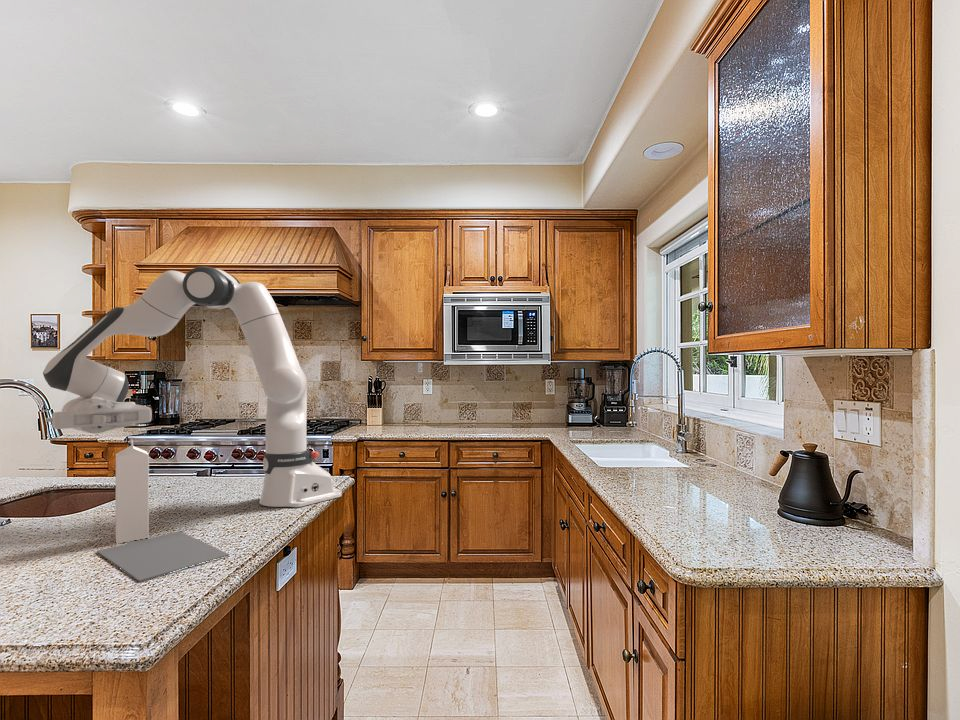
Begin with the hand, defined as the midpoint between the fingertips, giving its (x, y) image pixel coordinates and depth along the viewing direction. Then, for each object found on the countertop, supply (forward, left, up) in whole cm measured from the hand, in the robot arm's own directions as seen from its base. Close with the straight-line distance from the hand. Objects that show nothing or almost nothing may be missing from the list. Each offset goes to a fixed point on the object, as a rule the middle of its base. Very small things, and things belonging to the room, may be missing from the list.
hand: (113, 419), depth 124 cm
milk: (-2, +12, -26) cm, 29 cm away
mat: (-5, +29, -26) cm, 39 cm away
